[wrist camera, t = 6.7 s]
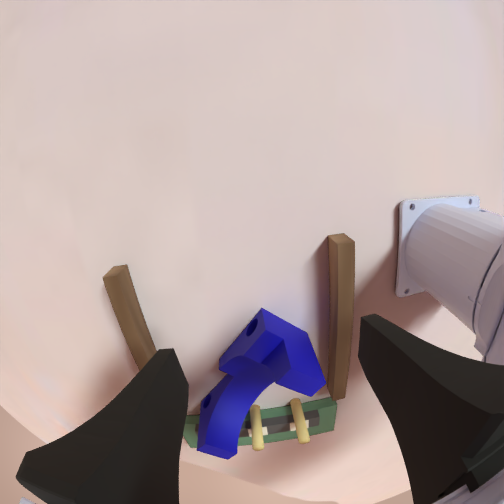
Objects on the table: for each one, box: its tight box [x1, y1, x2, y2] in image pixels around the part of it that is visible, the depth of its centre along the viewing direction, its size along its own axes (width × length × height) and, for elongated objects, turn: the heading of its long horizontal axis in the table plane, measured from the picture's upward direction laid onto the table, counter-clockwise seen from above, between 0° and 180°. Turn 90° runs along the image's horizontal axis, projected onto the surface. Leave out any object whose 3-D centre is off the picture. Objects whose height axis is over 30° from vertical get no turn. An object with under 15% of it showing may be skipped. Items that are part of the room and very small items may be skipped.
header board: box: [183, 397, 337, 451], centre depth 23 cm, size 16×6×5 cm, turn 98°
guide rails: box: [103, 233, 355, 401], centre depth 20 cm, size 17×15×2 cm
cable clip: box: [197, 308, 326, 460], centre depth 20 cm, size 12×4×6 cm, turn 145°
